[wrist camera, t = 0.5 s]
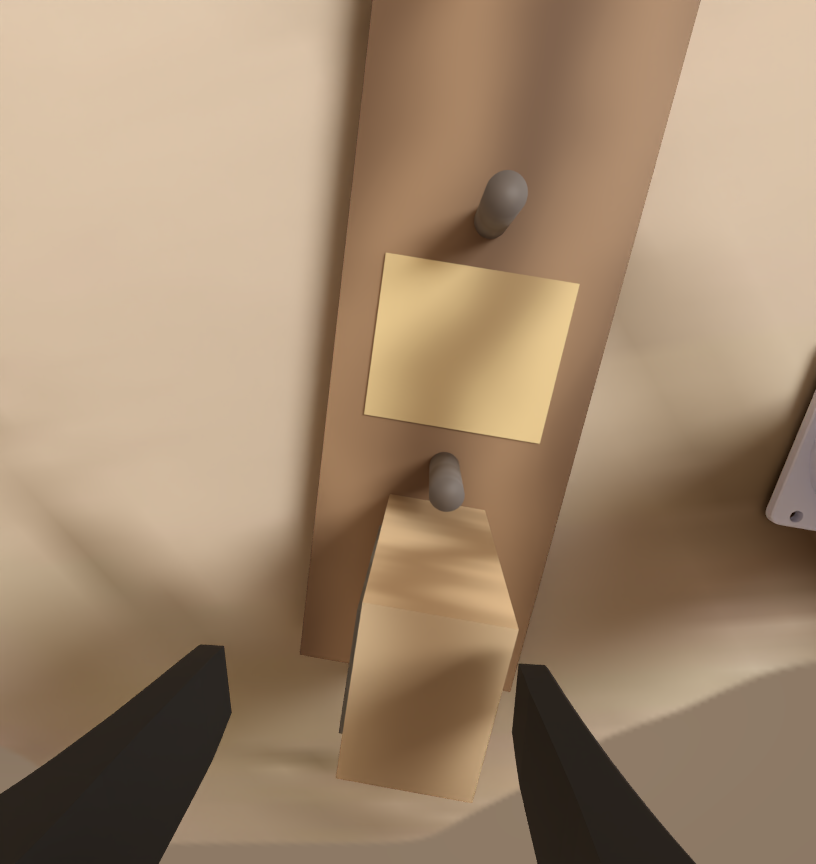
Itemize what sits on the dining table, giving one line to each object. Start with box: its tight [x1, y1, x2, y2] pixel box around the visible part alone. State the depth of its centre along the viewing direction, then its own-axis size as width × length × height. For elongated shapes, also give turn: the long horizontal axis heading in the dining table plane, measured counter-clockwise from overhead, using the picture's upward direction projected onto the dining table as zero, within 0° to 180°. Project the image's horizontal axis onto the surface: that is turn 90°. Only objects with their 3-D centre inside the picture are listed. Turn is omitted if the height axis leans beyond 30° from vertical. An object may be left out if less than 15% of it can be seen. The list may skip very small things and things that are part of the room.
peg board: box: [300, 0, 701, 692], centre depth 15 cm, size 10×30×4 cm, turn 171°
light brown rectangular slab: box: [336, 494, 519, 803], centre depth 15 cm, size 4×6×7 cm
